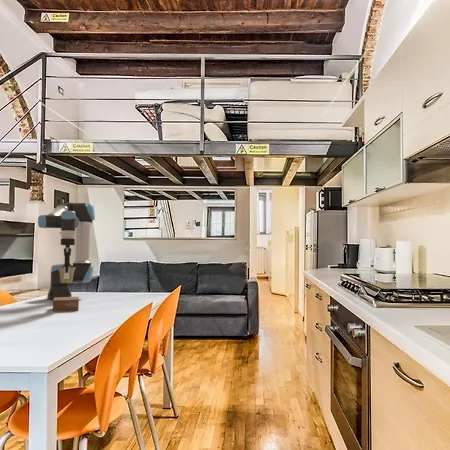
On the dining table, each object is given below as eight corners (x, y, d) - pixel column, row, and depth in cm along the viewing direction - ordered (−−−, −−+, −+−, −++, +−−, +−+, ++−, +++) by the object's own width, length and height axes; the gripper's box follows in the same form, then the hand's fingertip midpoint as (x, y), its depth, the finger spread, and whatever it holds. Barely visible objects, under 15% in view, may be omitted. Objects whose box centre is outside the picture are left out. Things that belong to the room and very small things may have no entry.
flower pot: (78, 282, 228) (78, 266, 229) (70, 283, 219) (70, 267, 220) (62, 281, 229) (63, 266, 230) (54, 283, 220) (54, 267, 221)
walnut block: (53, 308, 227) (54, 297, 228) (78, 307, 232) (78, 296, 232) (52, 311, 215) (53, 300, 216) (78, 310, 220) (78, 299, 220)
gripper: (61, 238, 235) (60, 276, 233) (59, 237, 214) (58, 279, 213) (75, 238, 237) (73, 276, 236) (74, 238, 217) (73, 279, 215)
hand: (66, 278), depth 224 cm, fingers closed on flower pot, 9 cm apart
